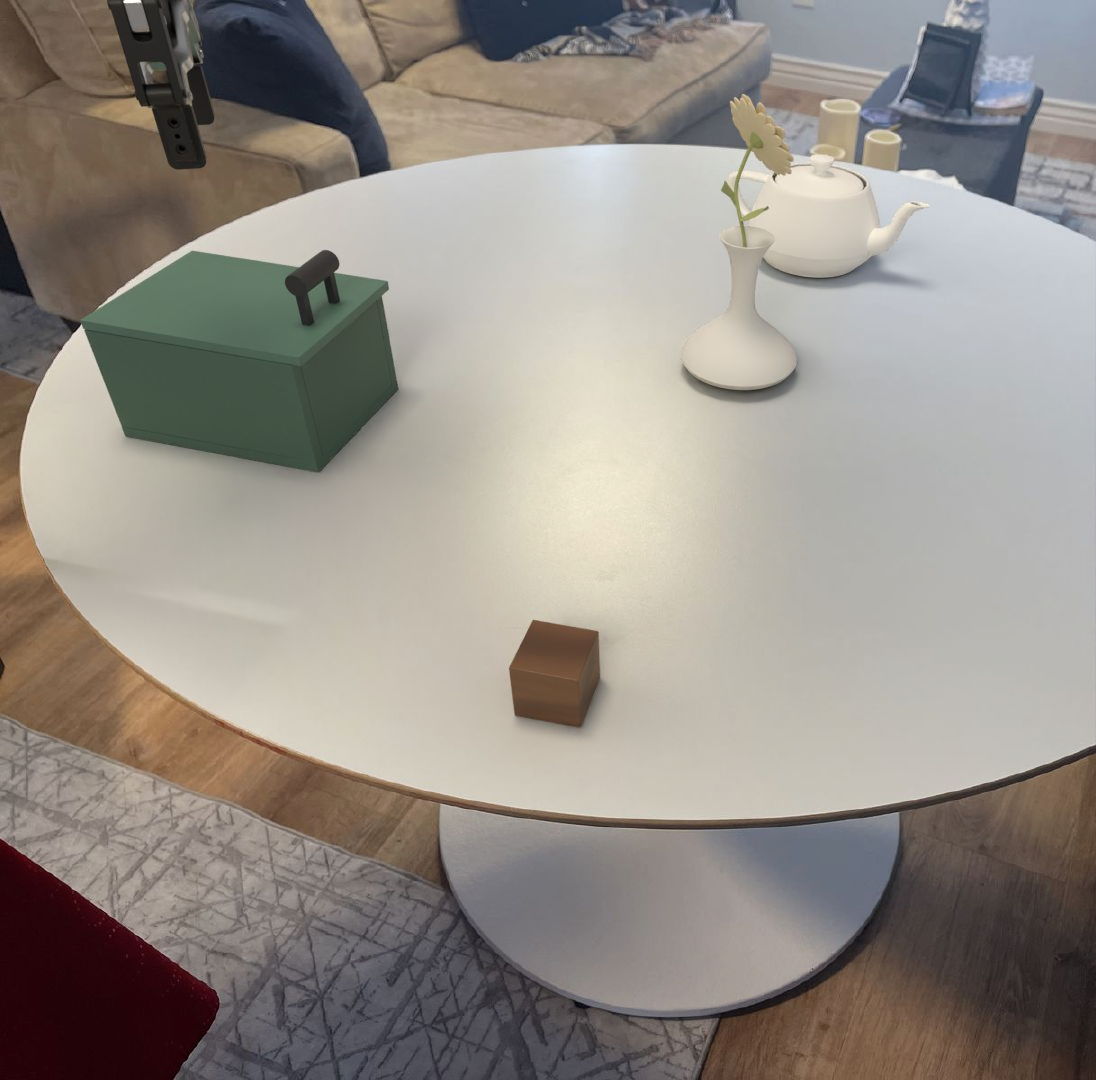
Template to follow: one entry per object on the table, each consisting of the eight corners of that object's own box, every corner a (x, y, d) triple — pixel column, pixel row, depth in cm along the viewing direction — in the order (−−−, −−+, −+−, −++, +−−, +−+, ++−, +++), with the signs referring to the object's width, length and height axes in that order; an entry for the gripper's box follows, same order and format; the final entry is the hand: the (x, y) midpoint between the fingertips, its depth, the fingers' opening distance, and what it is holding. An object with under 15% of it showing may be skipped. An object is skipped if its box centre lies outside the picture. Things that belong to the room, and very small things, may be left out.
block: (580, 728, 63) (578, 680, 60) (514, 715, 63) (508, 667, 61) (600, 677, 66) (598, 630, 64) (537, 666, 67) (532, 619, 64)
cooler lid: (389, 289, 86) (379, 232, 83) (301, 366, 76) (286, 304, 73) (194, 258, 89) (177, 202, 86) (83, 329, 78) (59, 267, 75)
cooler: (398, 388, 93) (381, 288, 87) (318, 472, 82) (291, 365, 76) (224, 358, 95) (194, 259, 89) (125, 436, 85) (83, 329, 78)
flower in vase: (807, 398, 95) (841, 127, 79) (689, 405, 93) (700, 128, 77) (776, 333, 105) (801, 81, 89) (669, 338, 103) (674, 80, 87)
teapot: (694, 258, 119) (697, 153, 111) (754, 217, 129) (761, 119, 122) (890, 313, 110) (909, 204, 102) (937, 264, 121) (957, 162, 113)
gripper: (58, -164, 61) (145, 114, 71) (8, -132, 50) (118, 187, 61) (192, -161, 63) (258, 108, 73) (171, -130, 52) (251, 179, 63)
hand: (194, 144), depth 67 cm, fingers open, 8 cm apart
